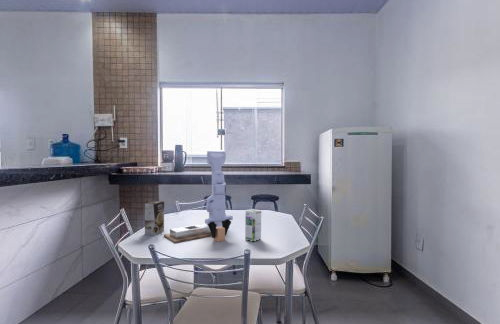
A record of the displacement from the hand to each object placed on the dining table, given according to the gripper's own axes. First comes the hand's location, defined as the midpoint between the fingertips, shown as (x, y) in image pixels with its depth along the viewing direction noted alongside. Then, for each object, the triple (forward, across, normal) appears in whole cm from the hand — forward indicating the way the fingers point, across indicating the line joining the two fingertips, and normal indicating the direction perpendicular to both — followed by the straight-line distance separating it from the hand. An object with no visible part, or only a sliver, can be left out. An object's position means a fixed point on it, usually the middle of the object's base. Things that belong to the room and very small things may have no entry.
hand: (219, 236), depth 134 cm
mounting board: (+2, -7, +15) cm, 17 cm away
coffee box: (+2, -20, +32) cm, 38 cm away
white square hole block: (+2, -7, +15) cm, 17 cm away
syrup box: (+2, +13, -10) cm, 16 cm away
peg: (+2, 0, 0) cm, 2 cm away
